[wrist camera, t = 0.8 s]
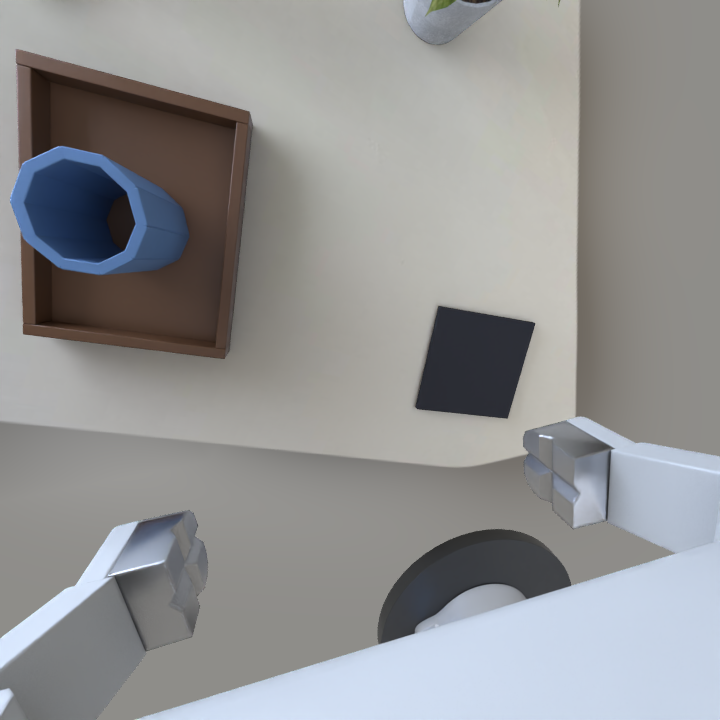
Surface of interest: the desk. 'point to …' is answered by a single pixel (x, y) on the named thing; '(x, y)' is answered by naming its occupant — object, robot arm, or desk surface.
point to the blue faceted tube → (94, 214)
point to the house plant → (444, 17)
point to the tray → (154, 163)
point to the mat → (473, 363)
